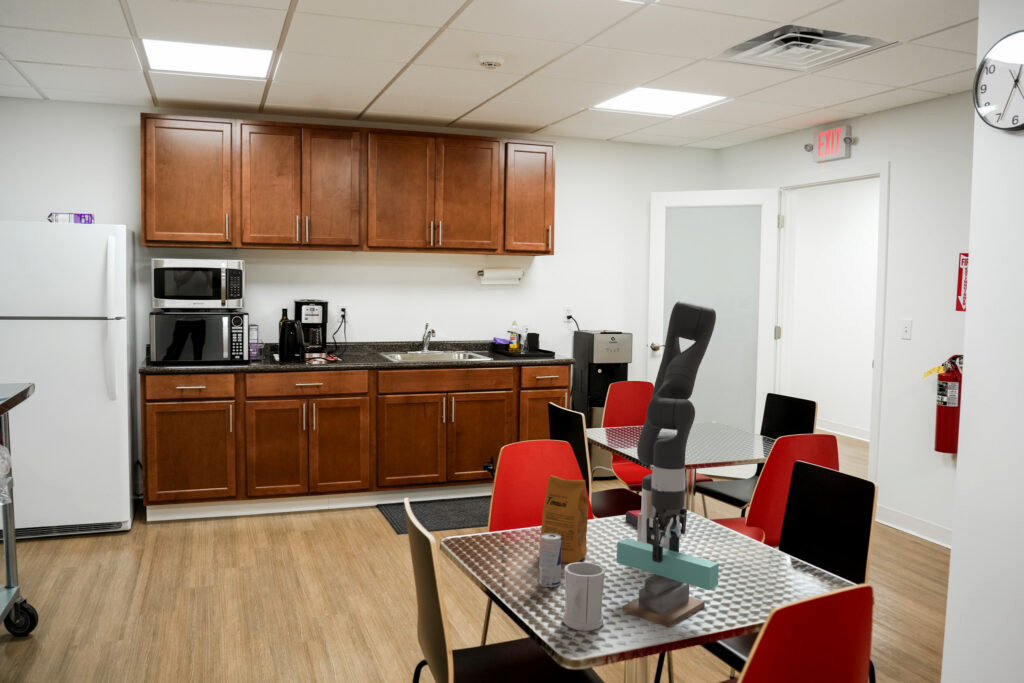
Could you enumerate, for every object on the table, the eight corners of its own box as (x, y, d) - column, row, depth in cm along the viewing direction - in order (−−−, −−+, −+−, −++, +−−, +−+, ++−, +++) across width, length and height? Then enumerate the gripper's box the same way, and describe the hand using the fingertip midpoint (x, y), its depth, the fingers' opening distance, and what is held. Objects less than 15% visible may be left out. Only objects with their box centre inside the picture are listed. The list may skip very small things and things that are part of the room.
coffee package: (552, 547, 217) (554, 470, 216) (591, 556, 210) (594, 477, 209) (534, 557, 209) (536, 477, 207) (574, 567, 202) (577, 484, 201)
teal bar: (616, 562, 182) (617, 541, 182) (626, 558, 185) (626, 538, 185) (709, 590, 166) (710, 567, 166) (717, 585, 169) (718, 563, 169)
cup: (608, 635, 162) (610, 579, 161) (565, 635, 161) (567, 579, 160) (599, 614, 172) (600, 561, 171) (558, 614, 171) (560, 561, 171)
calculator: (655, 508, 249) (679, 518, 235) (655, 521, 249) (679, 532, 235) (625, 510, 246) (647, 521, 231) (624, 523, 246) (647, 535, 231)
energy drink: (563, 581, 191) (564, 534, 190) (557, 589, 186) (558, 540, 185) (542, 578, 193) (543, 531, 192) (536, 586, 188) (537, 538, 187)
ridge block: (622, 611, 174) (623, 575, 173) (659, 592, 186) (660, 558, 185) (668, 627, 166) (670, 590, 165) (704, 606, 178) (705, 571, 177)
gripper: (670, 477, 182) (667, 546, 183) (636, 488, 171) (634, 561, 172) (698, 483, 177) (696, 554, 178) (666, 494, 166) (663, 569, 167)
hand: (665, 557), depth 175 cm, fingers open, 6 cm apart
